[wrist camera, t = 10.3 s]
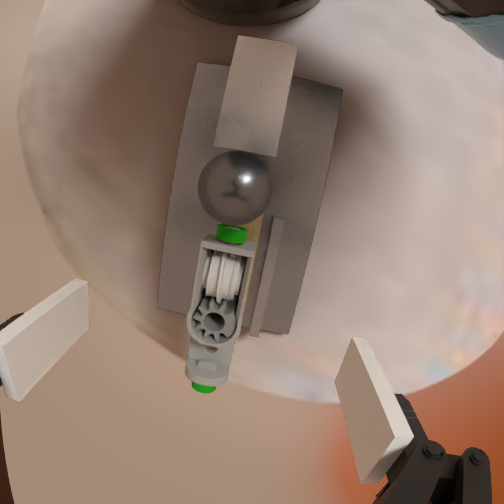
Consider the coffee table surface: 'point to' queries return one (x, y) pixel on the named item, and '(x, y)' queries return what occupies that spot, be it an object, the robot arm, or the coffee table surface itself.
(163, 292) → the hinge base
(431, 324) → the coffee table surface
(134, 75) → the coffee table surface
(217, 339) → the mechanical component
